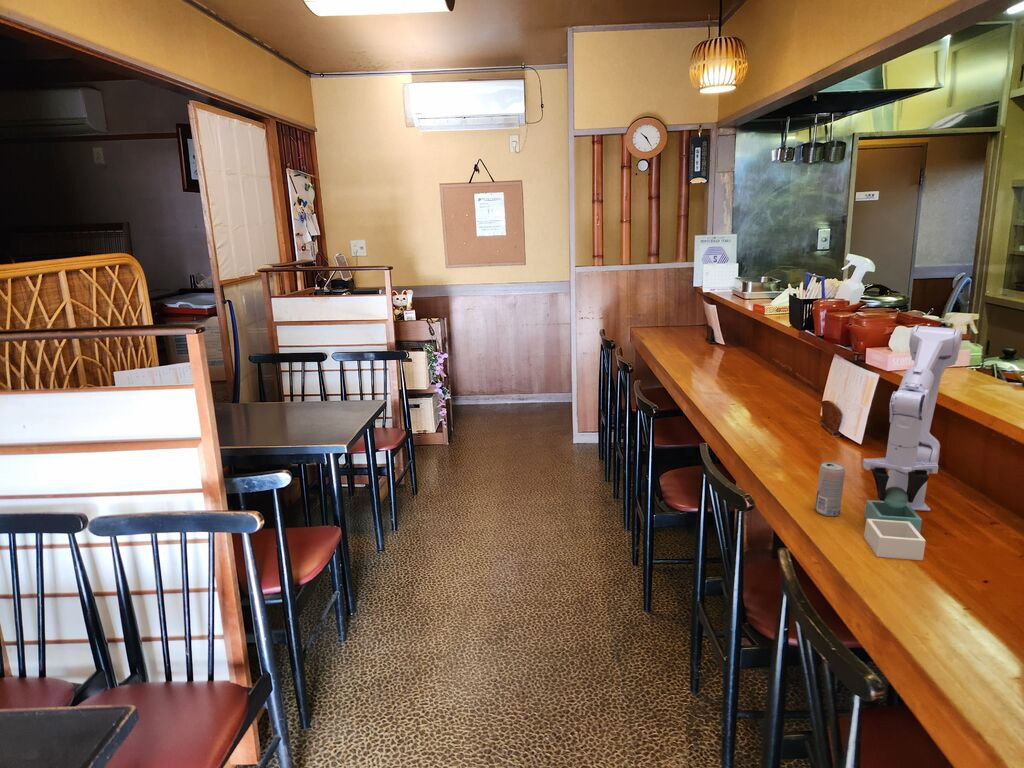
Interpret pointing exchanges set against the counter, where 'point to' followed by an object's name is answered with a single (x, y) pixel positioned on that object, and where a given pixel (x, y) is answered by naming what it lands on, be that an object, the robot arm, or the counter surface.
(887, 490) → the teal ball
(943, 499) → the counter surface
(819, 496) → the energy drink
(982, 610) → the counter surface
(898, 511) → the teal open square box
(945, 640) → the counter surface
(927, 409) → the robot arm
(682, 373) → the counter surface
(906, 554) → the shallow white tray
